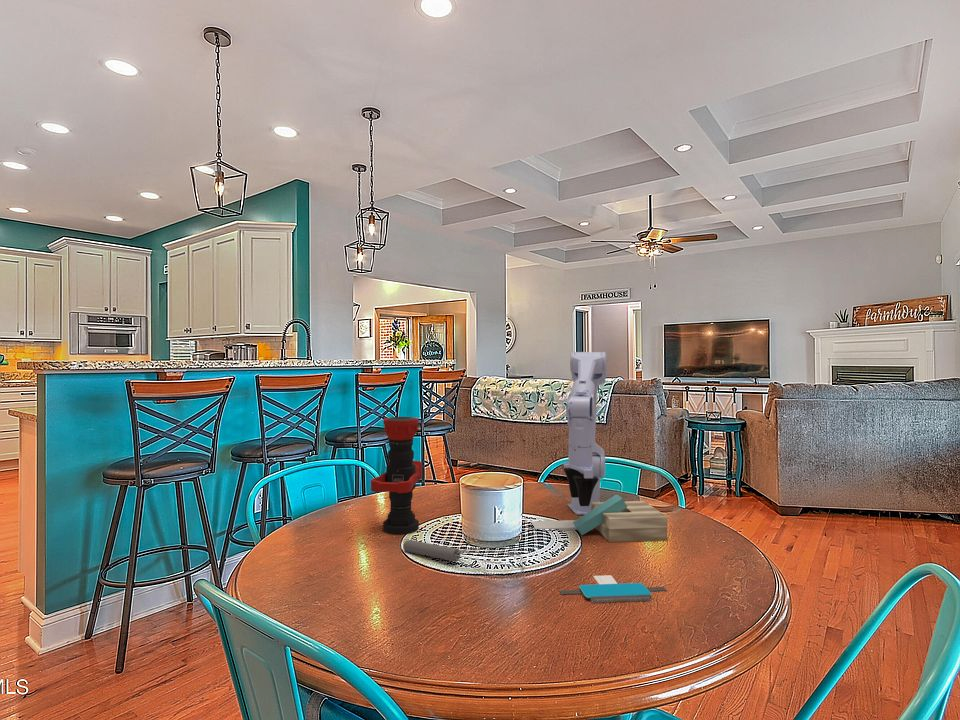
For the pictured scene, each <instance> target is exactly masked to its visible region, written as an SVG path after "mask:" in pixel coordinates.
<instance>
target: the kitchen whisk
mask: <svg viewBox="0 0 960 720" xmlns="http://www.w3.org/2000/svg"><path fill="white" fill-rule="evenodd" d="M403 541H404V542H403ZM402 542H403V545H402V547H403V548H402V547H401V546H399V548H400V550H402V551H403V550H404V551H405V552H407V553H410V552H412V554H415V553H416V555H420V554H421V556H425V555H426V557H429V556H430V558H434V557H435V559H439V558H440V560H445V561H450V562H455V563H457V562H459V563H461V564H462V565H464V566H465V565H466V566H465V567H467V566H468V567H470V568H472V569H473V570H475V571H477V572H480V573H483V574H487V575H490V576H493V577H494V576H495V577H498V578H499V577H502V578H510V579H513V577H515V576H517V575H518V577H516V578H515V579H513V580H509V581H507V580H506V581H504V580H502V582H503V583H511V582H514V581H517V580H518V579H520V578H522V577H523V576H524V575H525V573H524V571H525V570H526V569H527V568H526V565H527V562H526V559H525V558H523V556H521V554H520V553H519V552H517V551H516V550H514V549H511V548H510V547H503V546H498V548H501V549H507V550H511V551H512V552H514V553H511V552H504V551H500V550H494V549H486V548H488V546H482V547H481V546H480V547H479V549H486V552H493V553H496V554H497V553H498V554H505V555H509V556H510V557H512V558H514V559H515V560H517V562H519V564H520V566H516V565H510V564H507V563H500V562H495V561H491V560H490V561H489V560H484V559H479V558H475V557H469V556H464V555H461V553H462V554H469V553H470V554H472V553H474V554H475V553H477V552H479V549H478V547H474V548H472V549H471V548H468V549H462V550H460V549H459V548H457V547H456V548H454V547H449V546H445V545H439V544H433V543H428V542H422V541H417V540H411V539H409V538H406V539H405V538H404V539H403V540H401V541H400V543H399V544H401V543H402ZM515 553H516V554H515ZM515 556H516V557H515ZM461 557H462V558H466V559H471V560H476V561H482V562H486V563H492V564H496V565H500V566H501V565H503V566H506V567H507V566H508V567H513V568H516V569H517V568H518V569H521V570H520V571H519V572H518V573H516V574H513V575H507V576H505V575H504V576H503V575H496V574H492V573H490V572H488V573H487V571H486V572H485V571H484V570H479V568H478V569H477V568H475V567H473V566H472V565H471V563H470V562H468V561H465V560H463V559H461ZM517 557H520V559H521V561H520V560H518V559H517ZM519 574H520V575H519Z"/></svg>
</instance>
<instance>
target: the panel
mask: <svg viewBox="0 0 960 720" xmlns="http://www.w3.org/2000/svg"><path fill="white" fill-rule="evenodd" d="M575 520H576V519H570V520H569V519H568V520H567V519H565V520H564V519H563V520H537V521H534V520H533V521H530V524H531V523H532V525H533V526H534V528H535V529H559V530H558V531H578V530H577V528H576V527H575V525H574V523H573V522H574V521H575ZM532 525H531V526H532ZM533 526H532V527H533ZM534 528H533V529H534Z"/></svg>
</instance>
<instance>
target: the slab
mask: <svg viewBox="0 0 960 720" xmlns="http://www.w3.org/2000/svg"><path fill="white" fill-rule="evenodd" d="M603 502H604V503H602V504H600V505H599V506H597V507H596V508H594V509H593V510H591V511H589V512H588V513H586V514H582V515H581V516H579V517H578V518H577V519H574V520H575V521H574V522H573V523H574V525H575V527H576V528H577V530H576V531H578V533H579V534H580V535H581V536H583V535H586V534H587V533H589V532H590V531H592V530H593V529H596V528H595V527H596V526H598V525H600V524H601V523H603V513H618V512H620V511H622V510H623V509H625V508H626V507H627V505H626V504H625V499H623V497H621V496H620V495H618V494H617V493H616V494H615V495H612V497H610V498H609V499H607V500H605V501H603Z"/></svg>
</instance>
